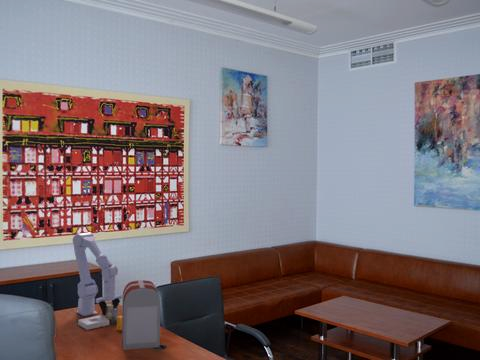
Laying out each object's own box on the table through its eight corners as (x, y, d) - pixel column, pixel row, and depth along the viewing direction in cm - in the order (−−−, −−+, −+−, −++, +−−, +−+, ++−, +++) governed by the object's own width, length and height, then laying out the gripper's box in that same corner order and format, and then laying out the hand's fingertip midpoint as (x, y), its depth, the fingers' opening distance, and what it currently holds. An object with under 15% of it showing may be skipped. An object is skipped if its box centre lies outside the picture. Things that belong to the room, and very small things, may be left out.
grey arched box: (122, 349, 210) (123, 289, 210) (121, 336, 227) (122, 280, 227) (160, 347, 215) (161, 287, 214) (156, 333, 232) (157, 278, 231)
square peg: (104, 318, 254) (104, 305, 254) (110, 316, 256) (110, 304, 256) (107, 319, 252) (107, 306, 251) (113, 318, 254) (113, 305, 254)
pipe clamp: (141, 331, 235) (142, 318, 235) (136, 334, 231) (136, 320, 231) (122, 327, 240) (122, 314, 240) (116, 329, 236) (117, 317, 236)
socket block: (78, 324, 242) (78, 319, 242) (100, 320, 250) (100, 315, 250) (86, 329, 235) (87, 324, 235) (109, 324, 243) (109, 320, 243)
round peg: (110, 322, 247) (110, 308, 247) (115, 320, 250) (116, 307, 249) (113, 323, 245) (113, 310, 245) (118, 322, 247) (119, 309, 247)
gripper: (100, 292, 246) (99, 318, 246) (125, 288, 255) (124, 313, 256) (94, 289, 251) (93, 315, 251) (118, 285, 261) (118, 310, 261)
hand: (109, 314), depth 254 cm, fingers open, 5 cm apart
